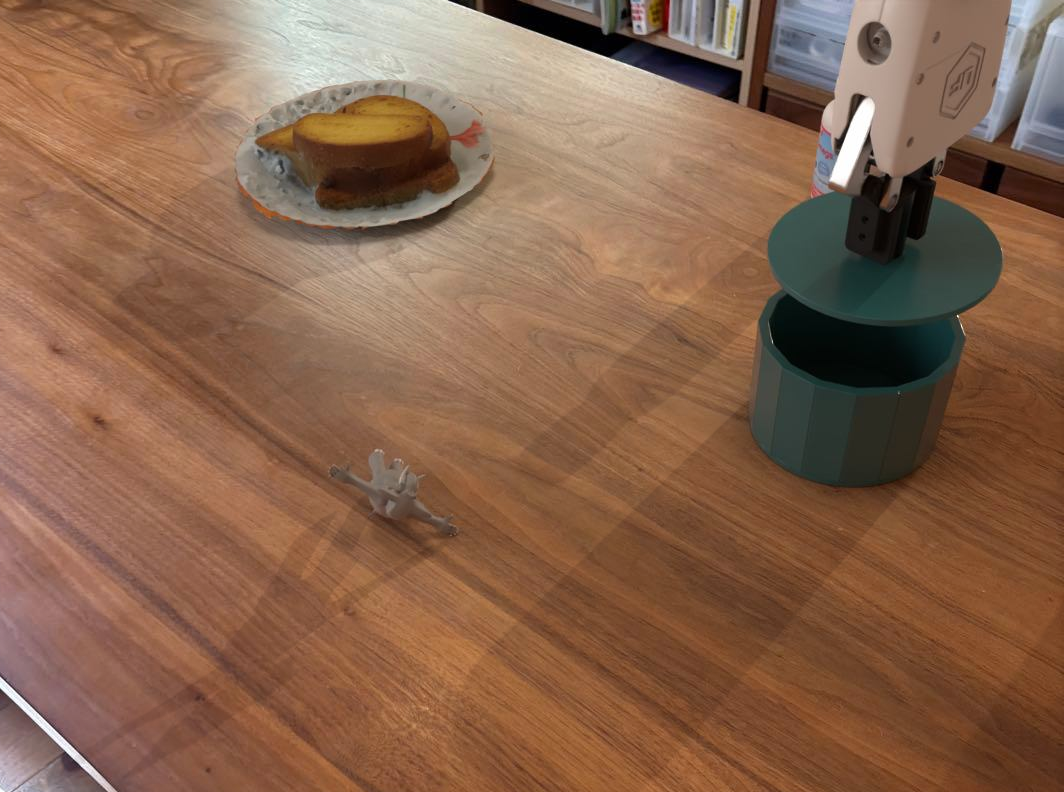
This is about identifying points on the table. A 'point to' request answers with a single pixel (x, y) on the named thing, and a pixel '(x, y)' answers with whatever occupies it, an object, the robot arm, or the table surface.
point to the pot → (849, 393)
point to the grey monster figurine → (393, 492)
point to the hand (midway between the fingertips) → (884, 240)
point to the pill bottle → (828, 155)
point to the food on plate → (363, 154)
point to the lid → (885, 290)
